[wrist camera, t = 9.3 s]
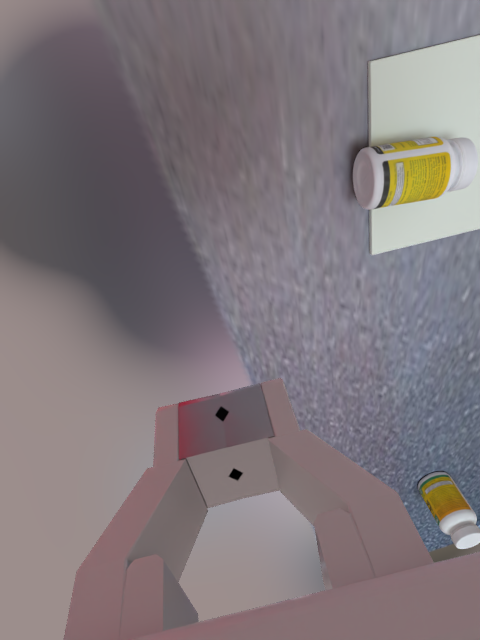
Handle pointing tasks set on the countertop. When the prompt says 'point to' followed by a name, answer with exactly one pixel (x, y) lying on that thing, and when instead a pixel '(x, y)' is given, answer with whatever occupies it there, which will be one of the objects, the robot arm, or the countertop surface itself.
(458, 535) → the supplement bottle
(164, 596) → the robot arm
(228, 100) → the countertop surface
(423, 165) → the supplement bottle
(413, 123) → the rubber mat
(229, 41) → the countertop surface
